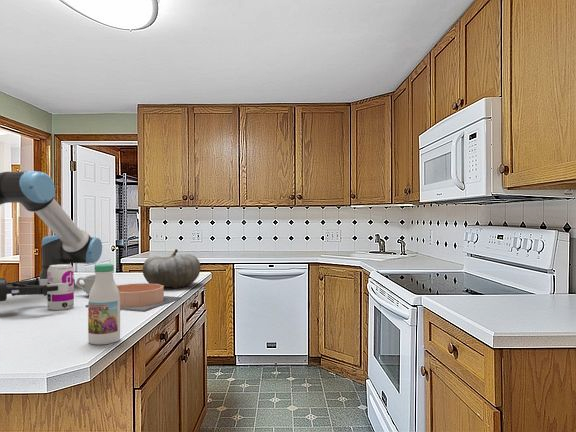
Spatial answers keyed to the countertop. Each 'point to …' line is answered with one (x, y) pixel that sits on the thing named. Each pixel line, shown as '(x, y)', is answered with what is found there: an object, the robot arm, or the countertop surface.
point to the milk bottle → (104, 307)
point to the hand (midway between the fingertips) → (64, 284)
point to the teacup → (86, 283)
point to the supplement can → (56, 276)
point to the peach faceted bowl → (142, 296)
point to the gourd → (172, 270)
